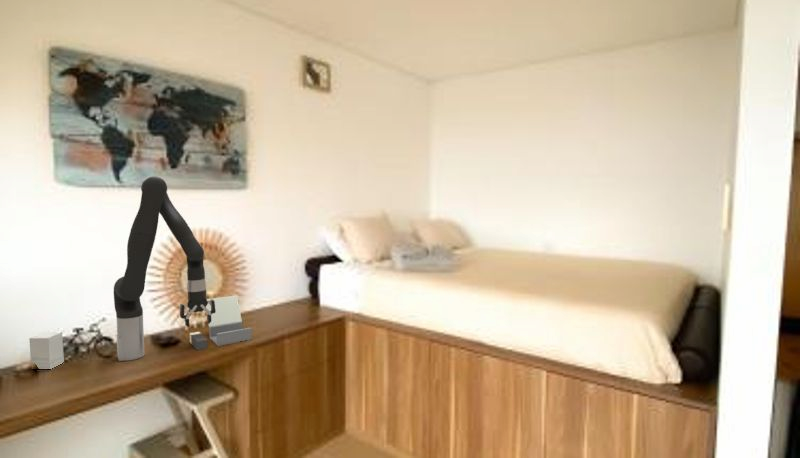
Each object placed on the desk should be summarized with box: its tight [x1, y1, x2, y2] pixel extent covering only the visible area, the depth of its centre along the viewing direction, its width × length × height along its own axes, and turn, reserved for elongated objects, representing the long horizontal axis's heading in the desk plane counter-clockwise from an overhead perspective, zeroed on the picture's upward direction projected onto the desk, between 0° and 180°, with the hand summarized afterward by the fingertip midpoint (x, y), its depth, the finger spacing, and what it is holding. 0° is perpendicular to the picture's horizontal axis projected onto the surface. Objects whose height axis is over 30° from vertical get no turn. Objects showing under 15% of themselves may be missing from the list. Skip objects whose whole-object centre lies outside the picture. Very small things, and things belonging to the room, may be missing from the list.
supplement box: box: [28, 331, 65, 370], centre depth 169 cm, size 7×7×13 cm
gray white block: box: [189, 331, 208, 351], centre depth 195 cm, size 4×14×4 cm, turn 38°
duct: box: [208, 321, 253, 347], centre depth 204 cm, size 15×13×5 cm
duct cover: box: [206, 294, 243, 327], centre depth 212 cm, size 15×13×1 cm
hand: (198, 325), depth 195 cm, fingers open, 8 cm apart
